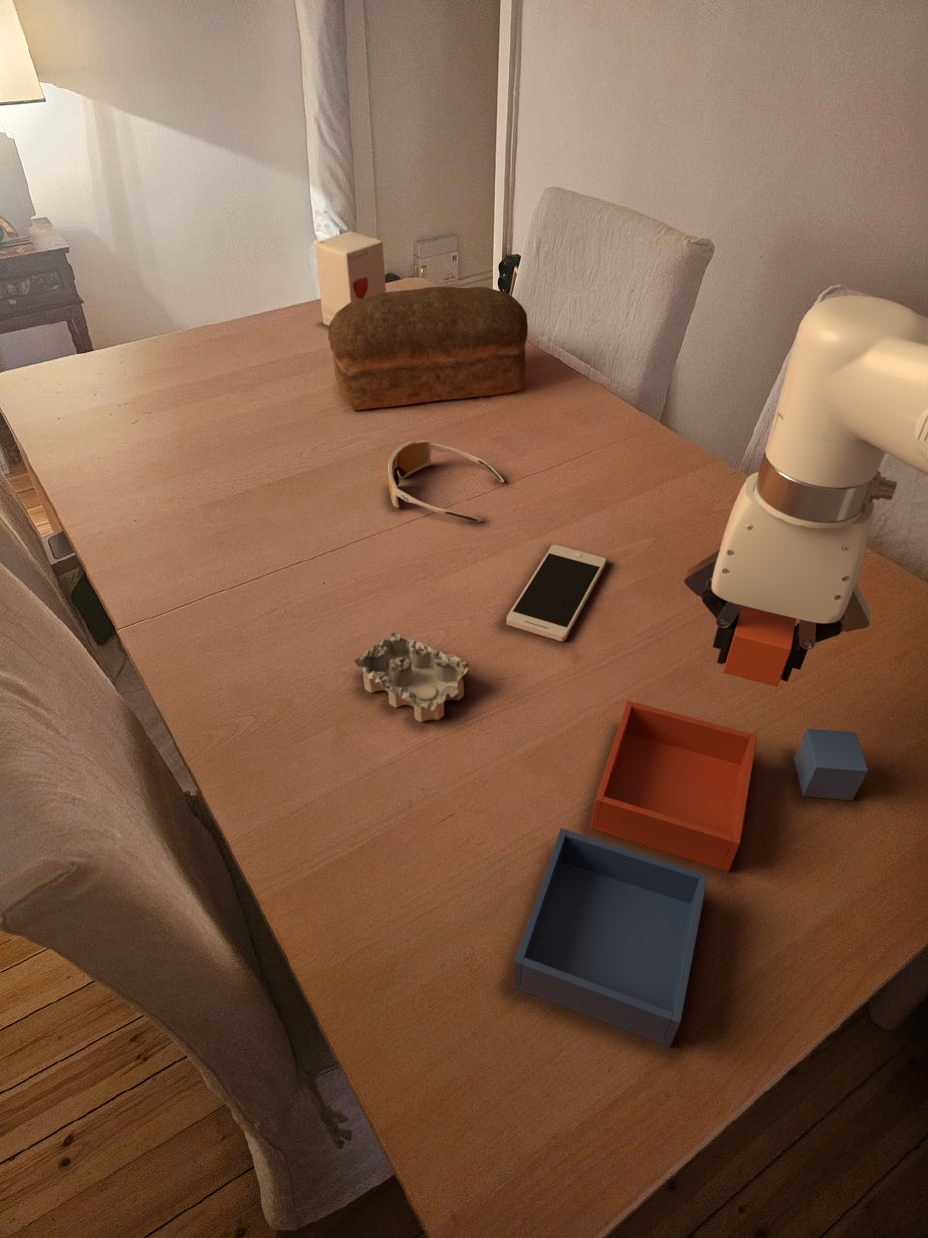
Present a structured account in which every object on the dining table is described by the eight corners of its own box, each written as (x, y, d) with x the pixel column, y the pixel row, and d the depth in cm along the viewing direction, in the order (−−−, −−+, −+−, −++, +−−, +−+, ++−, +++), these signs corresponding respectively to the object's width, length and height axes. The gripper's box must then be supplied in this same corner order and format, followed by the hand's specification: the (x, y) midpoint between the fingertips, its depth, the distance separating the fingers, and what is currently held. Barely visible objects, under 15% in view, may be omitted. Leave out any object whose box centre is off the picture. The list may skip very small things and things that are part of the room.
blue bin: (697, 903, 68) (708, 874, 65) (669, 1048, 60) (680, 1023, 57) (556, 856, 72) (560, 827, 69) (512, 988, 63) (514, 961, 60)
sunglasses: (409, 455, 120) (412, 426, 117) (506, 486, 118) (512, 457, 115) (369, 508, 111) (371, 478, 107) (474, 543, 108) (479, 513, 105)
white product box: (353, 337, 151) (345, 253, 141) (322, 324, 156) (312, 241, 146) (389, 322, 156) (384, 240, 146) (358, 310, 161) (350, 229, 150)
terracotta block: (783, 652, 72) (797, 614, 69) (777, 687, 69) (791, 649, 66) (731, 639, 73) (742, 601, 70) (722, 673, 70) (734, 634, 67)
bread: (331, 375, 140) (319, 281, 129) (511, 356, 145) (514, 263, 134) (340, 416, 130) (328, 317, 119) (534, 394, 134) (539, 297, 124)
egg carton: (474, 691, 86) (474, 664, 84) (426, 734, 82) (425, 707, 79) (400, 645, 91) (398, 618, 89) (352, 683, 87) (348, 656, 84)
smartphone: (606, 563, 102) (607, 557, 101) (564, 642, 91) (564, 636, 91) (552, 549, 104) (552, 543, 103) (504, 624, 94) (504, 618, 93)
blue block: (841, 762, 79) (856, 732, 76) (852, 801, 76) (868, 771, 73) (793, 758, 79) (806, 728, 76) (802, 796, 76) (816, 767, 73)
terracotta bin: (746, 765, 79) (757, 735, 76) (728, 872, 70) (740, 843, 67) (621, 730, 82) (627, 700, 79) (590, 828, 74) (595, 799, 71)
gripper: (942, 478, 58) (860, 659, 71) (703, 434, 63) (665, 610, 76) (943, 537, 53) (855, 720, 66) (683, 484, 58) (646, 664, 71)
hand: (754, 659), depth 71 cm, fingers closed on terracotta block, 4 cm apart
